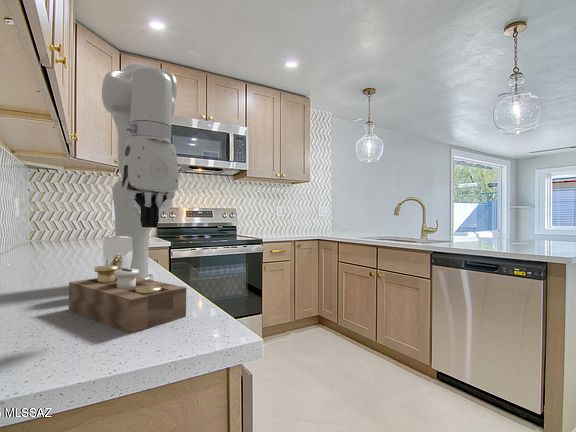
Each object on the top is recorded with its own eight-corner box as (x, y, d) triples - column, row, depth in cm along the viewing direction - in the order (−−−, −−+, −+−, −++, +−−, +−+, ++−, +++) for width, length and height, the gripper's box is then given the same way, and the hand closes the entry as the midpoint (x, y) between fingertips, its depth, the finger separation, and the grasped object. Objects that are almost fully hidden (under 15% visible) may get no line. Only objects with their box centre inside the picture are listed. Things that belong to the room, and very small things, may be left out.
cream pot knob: (108, 299, 68) (109, 269, 68) (130, 294, 72) (131, 266, 72) (121, 303, 65) (121, 271, 65) (143, 298, 69) (143, 268, 69)
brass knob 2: (129, 318, 64) (130, 288, 64) (151, 313, 68) (152, 284, 68) (144, 323, 61) (144, 292, 61) (166, 317, 65) (166, 287, 65)
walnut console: (68, 309, 70) (69, 282, 70) (122, 298, 80) (122, 274, 80) (130, 333, 57) (131, 299, 57) (186, 316, 67) (186, 287, 67)
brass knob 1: (90, 293, 72) (90, 267, 72) (111, 289, 76) (111, 264, 76) (100, 297, 70) (101, 269, 70) (122, 292, 74) (123, 266, 74)
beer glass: (100, 297, 81) (101, 237, 81) (103, 291, 87) (104, 235, 87) (131, 295, 84) (132, 237, 83) (132, 289, 90) (133, 235, 90)
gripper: (125, 123, 56) (123, 229, 56) (193, 140, 68) (192, 227, 69) (102, 129, 60) (101, 227, 60) (171, 144, 72) (169, 225, 73)
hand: (149, 227), depth 64 cm, fingers closed
